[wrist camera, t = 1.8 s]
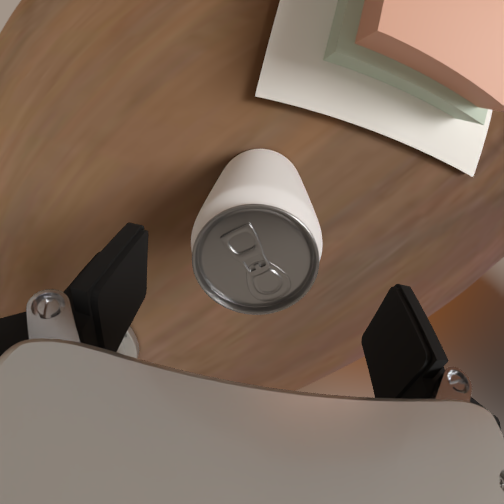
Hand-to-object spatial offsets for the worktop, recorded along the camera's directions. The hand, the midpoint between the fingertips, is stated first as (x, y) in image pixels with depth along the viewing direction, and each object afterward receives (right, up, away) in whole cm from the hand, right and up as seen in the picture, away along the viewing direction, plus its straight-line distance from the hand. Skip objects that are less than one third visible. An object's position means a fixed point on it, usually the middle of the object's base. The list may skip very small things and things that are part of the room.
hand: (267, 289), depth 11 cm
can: (0, +7, +13) cm, 15 cm away
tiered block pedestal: (+12, +19, +5) cm, 23 cm away
